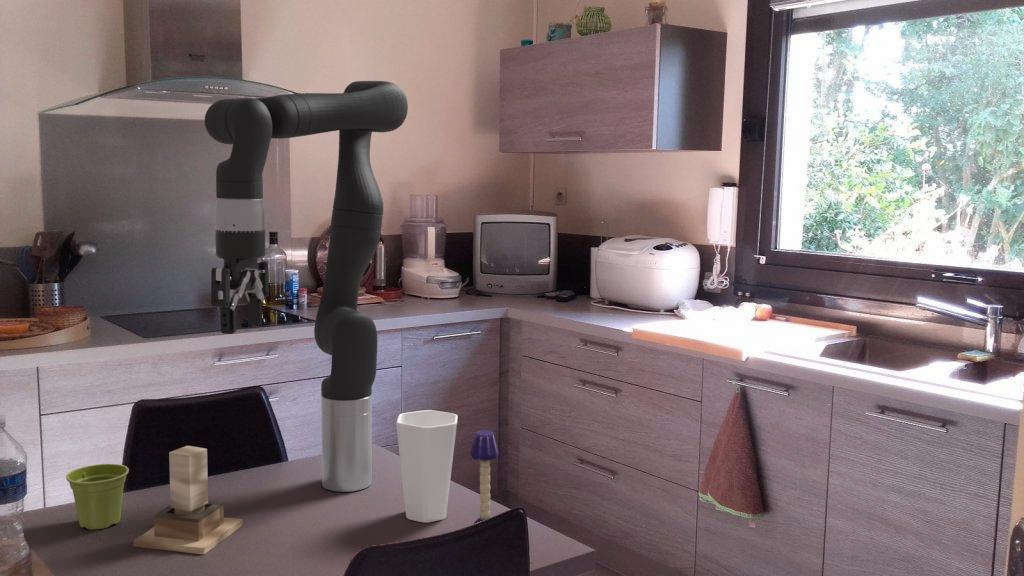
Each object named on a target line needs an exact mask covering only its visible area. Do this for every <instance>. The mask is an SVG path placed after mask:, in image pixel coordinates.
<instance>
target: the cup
mask: <svg viewBox="0 0 1024 576" xmlns="http://www.w3.org/2000/svg"><path fill="white" fill-rule="evenodd" d="M395 423H396V424H395V425H396V433H397V434H396V435H397V442H398V443H397V444H398V452H399V461H400V471H401V472H400V473H401V481H402V491H403V499H404V500H403V501H404V509H405V510H404V511H405V517H406V518H407V519H408V520H411V521H415V522H420V523H432V522H436V521H442V520H445V519H447V512H448V504H449V496H450V488H451V487H450V485H451V477H452V469H453V460H454V451H455V444H456V435H457V425H458V414H456V413H452V412H447V411H446V412H445V411H440V410H434V409H425V410H416V411H410V412H404V413H403V412H402V413H400V414H398V416H397V419H396V422H395Z"/></svg>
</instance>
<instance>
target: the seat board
mask: <svg viewBox="0 0 1024 576" xmlns="http://www.w3.org/2000/svg"><path fill="white" fill-rule="evenodd" d="M224 514H225V513H224V502H223V501H222V502H221V501H215V500H214V501H212V500H208V503H207V504H205V510H203V511H202V512H200V513H199V514H197V515H196V516H191V515H181V514H175V509H174V508H171V504H169V505H167V506H166V507H164V508H162V509H161V510H160V511H158V512H156V513H154V514H153V527H152V528H150V529H149V530H148V531H145V532H144V533H143V534H141V535H139V536H138V537H136V538H134V539H133V540H132V541H133V544H132V545H133V547H134V548H144V549H151V550H152V549H153V550H161V551H170V552H180V553H188V554H198V555H205V554H207V553H208V552H210V550H212V549H213V548H215V547H216V546H218V545H219V544H220V543H222V542H223V541H224V540H225V539H227V538H228V537H230V535H232V534H233V533H235V532H236V531H238V530H239V529H240V528H241V527H242V526H244V522H243V521H244V520H243V519H241V518H232V517H224V516H225V515H224Z"/></svg>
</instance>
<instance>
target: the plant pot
mask: <svg viewBox="0 0 1024 576" xmlns="http://www.w3.org/2000/svg"><path fill="white" fill-rule="evenodd" d="M129 469H130V468H129V467H127V465H124V464H119V463H98V464H92V465H86V466H83V467H79V468H78V467H77V468H76V469H74V470H71V471H70V472H68V473H67V474H66V475H65V479H66V481H67V482H68V483H69V487H70V488H71V490H72V495H73V499H74V503H75V508H76V512H77V517H78V518H77V519H78V522H79V526H80V527H81V528H86V529H87V530H100V529H101V530H102V529H106V528H109V527H111V526H112V525H113V524H115V525H117V524H118V523H119V522H120V521H121V516H122V504H123V498H124V497H123V495H124V485H125V482H126V480H127V475H128V474H129V472H130V470H129Z"/></svg>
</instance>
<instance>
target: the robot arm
mask: <svg viewBox="0 0 1024 576" xmlns="http://www.w3.org/2000/svg"><path fill="white" fill-rule="evenodd" d="M408 105H409V104H408V99H407V96H406V93H405V92H404V90H403V89H402V88H401V87H400V86H399V85H398V84H396V83H394V82H390V81H385V80H356V81H352V82H350V83H349V84H348V85H346V87H345V89H344V91H343V92H341V93H340V92H339V93H337V92H336V93H335V92H334V93H332V92H331V93H329V92H325V93H323V92H321V93H319V92H305V93H304V92H303V93H302V92H300V93H289V94H288V93H287V94H285V93H284V94H276V95H271V96H267V97H260V98H259V97H257V98H254V97H241V98H240V97H239V98H238V97H237V98H224V99H219V100H217V101H214V103H212V104H211V105H210V106H208V109H207V110H206V112H205V116H204V122H203V123H204V127H205V129H206V130H205V131H206V132H207V133H208V135H209V136H210V137H211V138H212V139H213V140H214V141H216V142H218V143H221V144H223V145H232V148H231V151H230V156H229V157H228V158H227V159H226V160H223V161H221V162H219V163H218V165H217V166H216V170H215V198H216V199H215V200H216V202H215V209H214V210H215V211H214V227H215V229H214V232H215V235H214V236H215V256H216V257H217V258H219V259H222V260H223V266H222V267H212V268H211V277H210V278H211V279H210V280H211V281H210V282H211V283H210V285H211V286H210V289H211V290H210V305H211V307H215V308H217V309H218V310H219V311H220V312H219V313H220V316H219V317H220V318H219V319H220V332H221V334H225V335H226V334H227V335H233V334H235V333H236V332H237V325H236V324H237V322H236V321H237V312H236V307H237V304H238V301H239V299H241V298H242V297H243V295H244V294H245V297H246V299H247V301H248V302H247V303H246V305H247V306H246V307H247V311H246V313H247V318H246V319H247V325H249V326H257V327H258V326H260V325H262V323H263V310H262V309H263V308H262V307H263V305H262V303H264V301H265V297H266V298H267V297H269V295H270V282H269V281H270V280H269V278H270V277H269V263H268V261H267V260H266V261H265V260H258V259H261V258H264V257H265V256H266V225H265V224H266V213H265V206H264V187H263V186H264V183H263V182H264V181H263V179H264V178H263V172H264V169H265V165H266V161H267V158H268V153H269V150H270V143H271V140H272V139H279V140H280V139H281V140H283V139H292V138H299V137H306V136H313V135H318V134H325V133H331V132H336V131H337V132H338V159H337V160H338V161H337V171H336V181H335V182H336V183H335V191H334V196H333V197H334V199H333V203H332V211H331V219H330V220H331V221H330V228H329V229H330V230H329V241H328V248H327V250H328V251H327V257H326V265H325V273H324V281H323V286H322V292H321V295H320V299H319V304H318V308H317V312H316V317H315V320H314V321H315V322H314V330H313V331H314V332H313V334H314V335H313V336H314V340H315V343H316V345H317V347H318V348H319V350H321V352H323V353H324V354H327V355H329V356H331V363H330V364H331V365H330V366H331V368H330V374H329V376H327V377H325V378H323V380H322V381H321V388H320V391H321V393H320V394H321V395H320V397H321V398H320V400H321V401H320V402H321V406H320V408H321V409H320V410H321V487H323V488H324V489H326V490H329V491H333V492H341V493H342V492H344V493H345V492H356V491H360V490H364V489H366V488H368V487H370V486H371V485H372V481H373V480H372V464H373V463H372V459H373V457H372V455H373V454H372V453H373V452H372V451H373V450H372V447H373V445H372V444H373V443H372V442H373V441H372V440H373V439H372V433H373V432H372V427H373V425H372V422H373V420H372V419H373V417H372V416H373V415H372V413H373V411H372V409H373V408H372V406H373V405H372V404H373V402H372V400H373V399H372V397H373V396H372V394H373V393H372V391H373V390H372V389H373V388H372V387H373V385H374V382H375V381H376V376H377V366H378V365H377V361H378V331H377V330H378V329H377V327H376V324H375V322H374V321H373V318H372V317H371V316H369V315H368V314H366V313H364V312H361V311H358V299H359V291H360V286H361V283H362V280H363V276H364V274H365V272H366V270H367V269H368V266H369V264H370V263H371V261H372V259H373V256H374V255H375V253H376V250H377V248H378V245H379V243H380V239H381V234H382V232H381V231H382V224H383V218H384V217H383V216H384V201H383V197H382V193H381V191H380V187H379V185H378V182H377V180H376V177H375V175H374V171H373V169H372V164H371V156H370V155H371V153H370V152H371V140H372V133H388V132H389V133H390V132H393V131H395V130H397V129H399V128H400V127H401V126H402V125H403V124H404V123H405V121H406V118H407V116H408V112H409V111H408V110H409V106H408ZM219 295H220V296H219Z"/></svg>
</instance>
